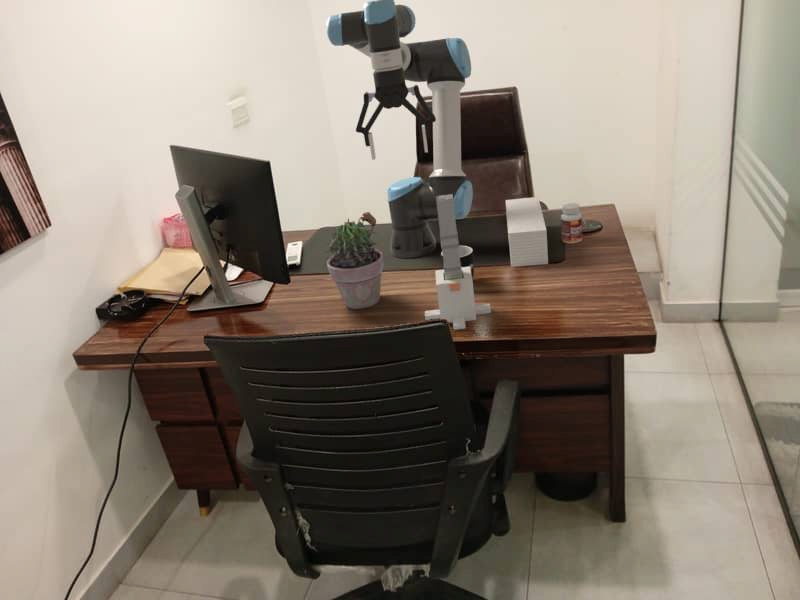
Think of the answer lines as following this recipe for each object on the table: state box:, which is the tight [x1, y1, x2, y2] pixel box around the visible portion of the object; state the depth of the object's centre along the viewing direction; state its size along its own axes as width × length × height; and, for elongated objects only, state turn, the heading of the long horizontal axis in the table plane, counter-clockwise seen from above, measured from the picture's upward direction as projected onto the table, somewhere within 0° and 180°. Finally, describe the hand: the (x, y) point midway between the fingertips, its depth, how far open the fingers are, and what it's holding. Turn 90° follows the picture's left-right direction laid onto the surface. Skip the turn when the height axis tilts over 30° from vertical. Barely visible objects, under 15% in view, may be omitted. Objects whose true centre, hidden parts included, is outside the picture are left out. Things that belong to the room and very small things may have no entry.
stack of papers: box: [505, 196, 549, 268], centre depth 208 cm, size 32×11×11 cm, turn 174°
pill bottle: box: [560, 202, 583, 245], centre depth 207 cm, size 6×6×11 cm
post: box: [436, 194, 462, 280], centre depth 166 cm, size 4×4×24 cm
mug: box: [440, 245, 475, 281], centre depth 190 cm, size 12×9×10 cm
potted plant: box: [320, 211, 387, 310], centre depth 184 cm, size 18×20×25 cm
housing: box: [424, 266, 492, 331], centre depth 172 cm, size 17×17×11 cm
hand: (400, 155), depth 172 cm, fingers open, 13 cm apart
